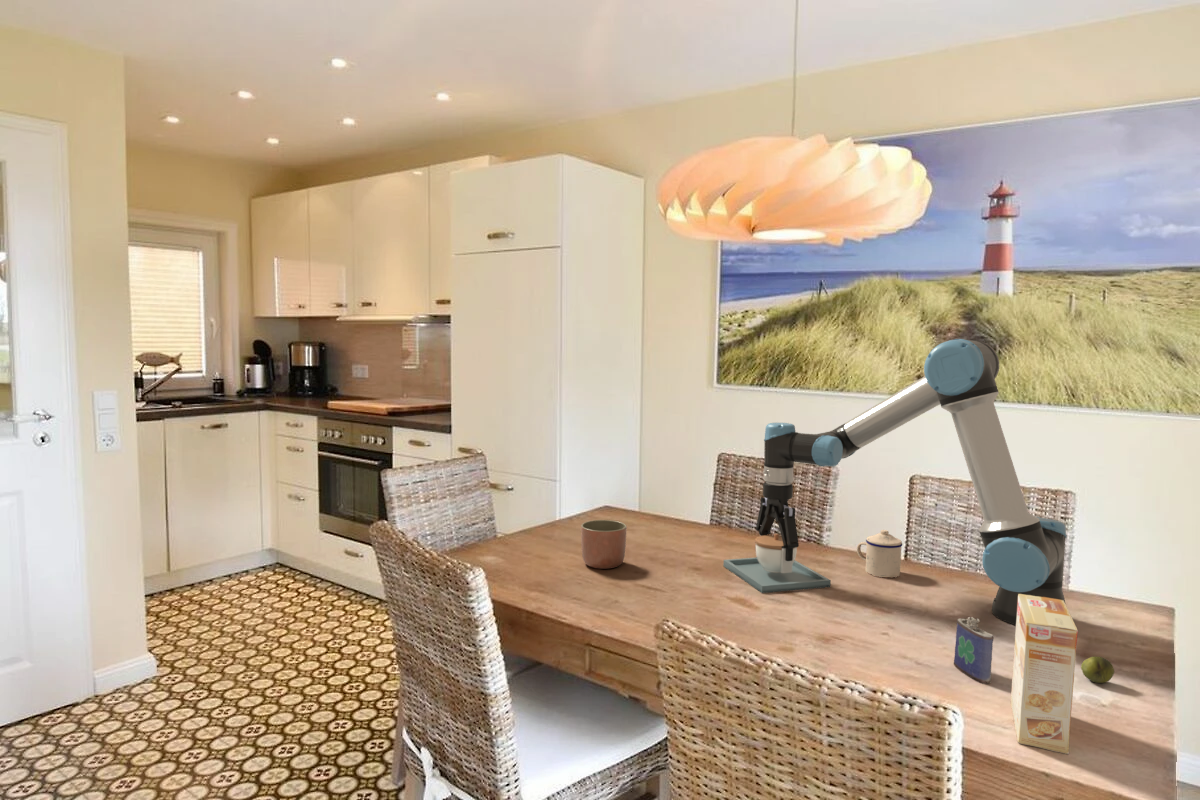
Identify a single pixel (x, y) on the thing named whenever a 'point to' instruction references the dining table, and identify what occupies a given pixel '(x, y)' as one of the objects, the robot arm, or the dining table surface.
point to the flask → (973, 650)
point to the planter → (603, 543)
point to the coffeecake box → (1043, 672)
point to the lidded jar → (771, 552)
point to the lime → (1097, 669)
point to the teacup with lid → (882, 554)
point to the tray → (776, 576)
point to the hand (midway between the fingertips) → (775, 565)
